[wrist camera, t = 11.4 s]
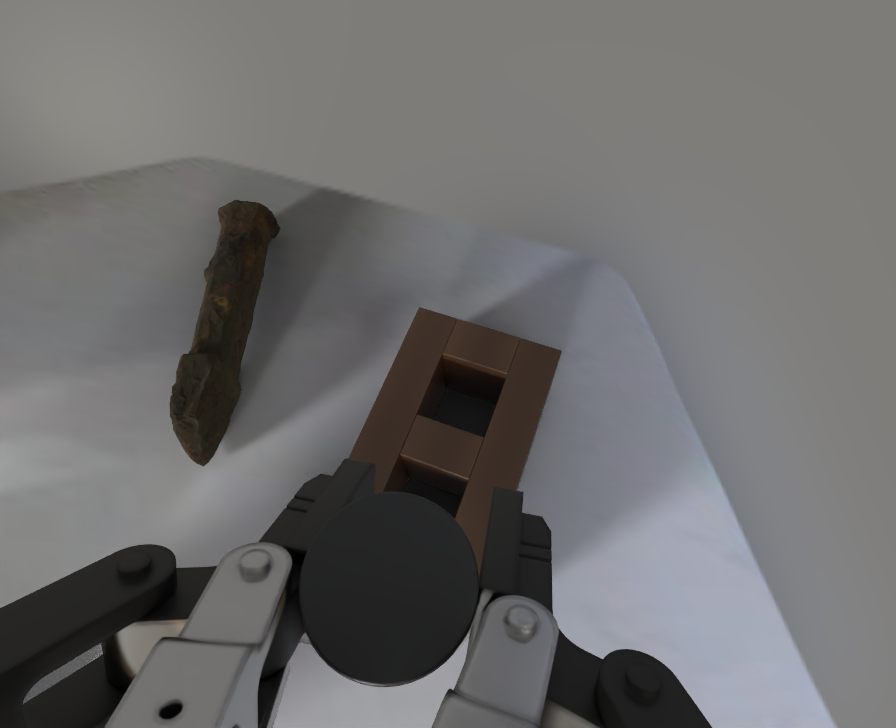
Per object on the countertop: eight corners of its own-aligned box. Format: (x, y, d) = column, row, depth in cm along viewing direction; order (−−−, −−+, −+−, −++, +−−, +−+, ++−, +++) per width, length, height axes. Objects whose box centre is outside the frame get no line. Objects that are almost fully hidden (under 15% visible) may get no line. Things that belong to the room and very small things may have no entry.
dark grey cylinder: (362, 635, 17) (259, 641, 9) (401, 537, 18) (344, 462, 10) (456, 678, 16) (440, 727, 8) (490, 573, 17) (507, 525, 9)
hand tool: (235, 231, 43) (209, 189, 39) (285, 232, 43) (264, 190, 39) (167, 466, 35) (124, 444, 31) (227, 469, 35) (193, 447, 31)
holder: (327, 566, 32) (302, 555, 27) (425, 345, 38) (419, 306, 33) (472, 627, 30) (471, 626, 26) (551, 385, 36) (562, 350, 32)
